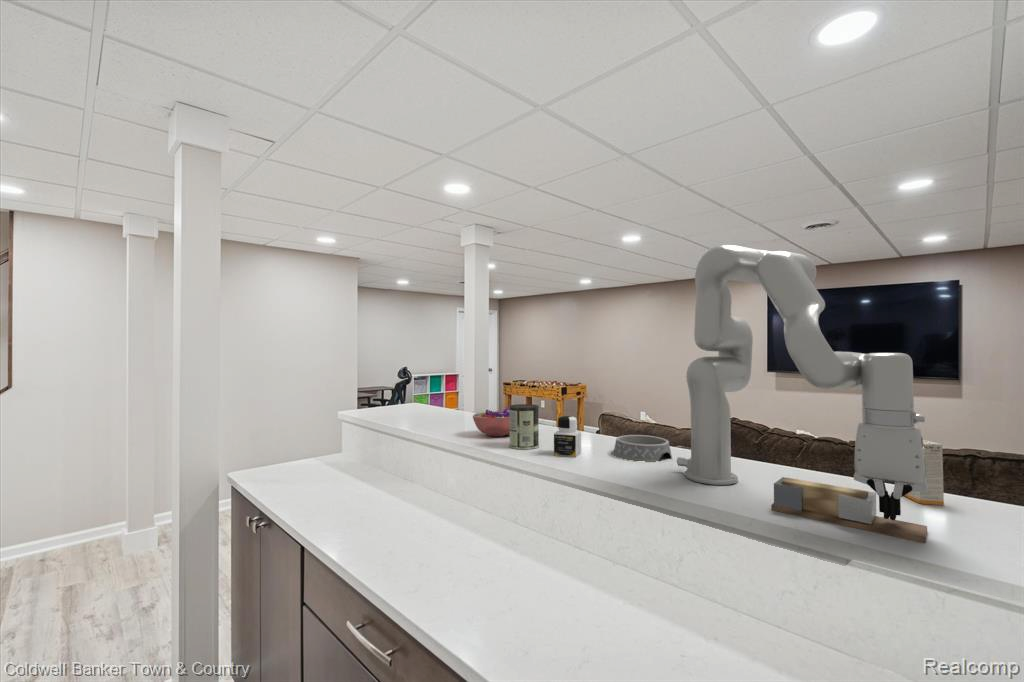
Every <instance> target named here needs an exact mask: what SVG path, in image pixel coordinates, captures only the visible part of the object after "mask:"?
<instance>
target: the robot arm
mask: <svg viewBox="0 0 1024 682" xmlns="http://www.w3.org/2000/svg"><path fill="white" fill-rule="evenodd" d="M817 272H818V271H817V266H816V264H815V262H814V261H813V259H811V257H809V256H807V255H805V254H801V253H796V252H791V251H786V250H774V251H770V250H763V249H757V248H751V247H746V246H742V245H735V244H723V245H716V246H715V247H712V248H710V249H709V250H707V251H706V252H705V253H704V254H703V255H702V256H701V258H700V260H699V261H698V264H697V265H696V269H695V273H694V274H695V275H694V277H695V278H694V281H695V282H694V283H695V284H694V286H695V306H694V307H695V308H694V309H695V310H694V314H695V315H694V330H693V331H694V332H693V333H694V335H693V336H694V337H693V338H694V342H695V345H696V346H697V348H699V349H701V351H705V352H706V351H707V352H717V353H718V355H717V356H716V355H715V356H713V355H712V356H702V357H698V358H696V359H695V360H693V361H691V362H690V363H689V365H688V367H687V369H686V383H687V387H688V394H689V402H690V457H689V458H686V457H677V459H676V463H677V466H678V467H686V470H685V471H684V477H685V478H687V479H688V480H690V481H693V482H696V483H701V484H706V485H715V486H727V485H733V484H737V483H738V481H739V477H738V475H737V474H735V473H734V472H732V448H731V446H732V442H731V440H732V439H731V436H732V435H731V427H732V426H731V424H732V423H731V407H730V404H729V400H728V398H727V396H726V393H733V392H734V393H735V392H739V391H741V390H743V389H745V388H746V387H747V386H748V384H749V381H750V380H751V374H752V363H753V362H752V360H753V359H752V357H753V342H754V341H753V332H752V329H751V326H750V324H749V323H748V322H747V321H746V320H745V319H744V318H742V317H739V316H735V315H732V294H731V291H730V289H729V286H728V281H735V282H742V283H743V282H744V283H752V284H757V285H761V286H762V288H763V290H764V291H765V293H766V295H767V296H768V297H769V299H770V301H771V303H772V304H773V306H774V308H775V309H776V311H777V312H778V315H779V316H780V317H781V319H782V322H783V335H784V336H783V337H784V342H785V346H786V350H787V352H788V354H789V357H790V358H791V359H792V361H793V363H794V364H795V366H796V368H797V369H798V372H800V374H801V375H802V377H803V378H804V379H805V381H807V382H808V384H810V385H811V386H813V387H814V388H816V389H819V390H822V391H823V390H824V391H833V390H847V389H848V390H851V389H861V402H862V403H861V406H862V407H861V413H862V414H861V415H862V416H861V417H862V422H860V423H859V422H858V425H857V430H856V435H855V442H854V443H855V445H854V474H853V477H852V479H853V480H854V481H856V482H858V483H861V484H863V485H867V486H869V487H870V488H871V490H873V491H874V493H876V496H878V501H879V502H878V509H879V513H883V517H884V519H891V520H894V521H895V520H897V519H896V518H897V516H899V517H900V516H901V511H902V510H901V507H902V505H901V499H902V497H905V496H904V495H906V494H908V493H909V492H911V491H927V490H928V486H927V483H926V480H925V476H926V464H925V453H924V444H923V440H924V438H923V434H922V431H921V428H920V427H917V426H915V424H918V423H919V424H920V423H925V420H926V419H925V418H926V417H925V414H920V413H917V412H915V405H914V402H915V401H914V399H915V398H914V369H913V368H914V367H913V364H914V363H913V359H912V357H911V356H910V355H909V354H907V353H903V352H870V353H862V352H853V351H834V350H833V349H832V347H831V346H830V344H829V343H828V341H827V339H826V338H825V336H824V334H823V333H822V331H821V328H820V325H819V324H820V322H819V318H820V314H821V313H822V312H823V311H824V310H825V308H826V302H825V300H824V298H823V297H822V295H821V294H820V293H819V291H818V289H817V288H816V287H815V286H814V284H813V283H814V281H815V279H816V278H817ZM885 481H886V482H887V481H888V482H893V483H894V487H893V491H892V492H891V493H890V494H889V492H888V490H887V488H886V484H885V483H886V482H885ZM904 483H906V484H904Z"/></svg>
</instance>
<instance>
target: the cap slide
mask: <svg viewBox="0 0 1024 682" xmlns="http://www.w3.org/2000/svg"><path fill="white" fill-rule="evenodd" d="M838 497H839V518H844V519H849V520H854V521H858V522H863V523H868V524H872V523H873V521H874V518H875V516H877V493H876V492H875V491H874V492H873V491H868V495H867V497H866V499H863V498H858V497H852V496H847V495H841V494H839V495H838Z"/></svg>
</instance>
